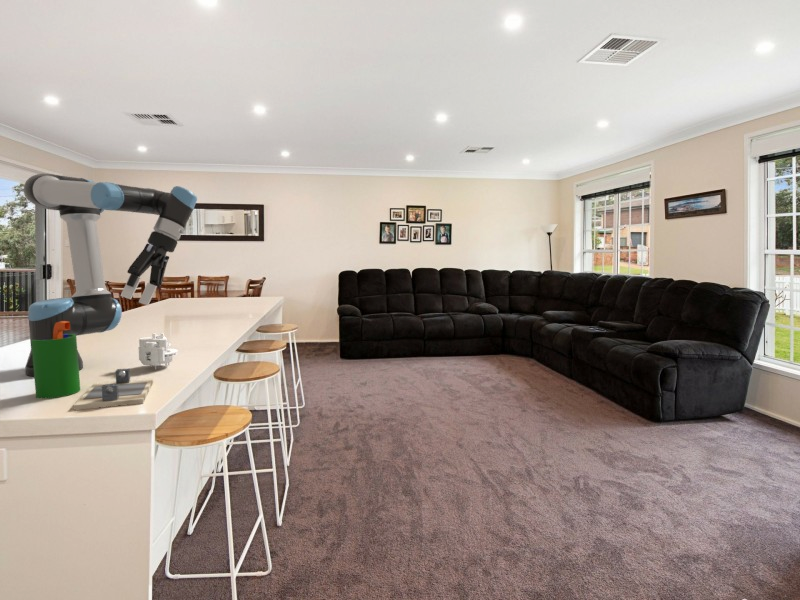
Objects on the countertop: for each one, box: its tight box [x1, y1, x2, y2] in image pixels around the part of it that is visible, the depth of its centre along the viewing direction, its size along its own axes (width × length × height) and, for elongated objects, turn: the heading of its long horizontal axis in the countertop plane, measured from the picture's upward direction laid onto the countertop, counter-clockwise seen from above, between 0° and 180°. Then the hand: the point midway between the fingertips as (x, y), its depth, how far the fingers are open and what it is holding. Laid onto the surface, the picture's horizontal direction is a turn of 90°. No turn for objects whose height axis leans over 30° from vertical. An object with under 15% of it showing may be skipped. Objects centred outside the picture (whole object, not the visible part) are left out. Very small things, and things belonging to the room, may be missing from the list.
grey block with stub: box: [115, 368, 131, 384], centre depth 133 cm, size 3×3×4 cm
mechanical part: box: [138, 332, 179, 370], centre depth 156 cm, size 11×12×12 cm
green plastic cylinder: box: [30, 321, 81, 399], centre depth 126 cm, size 10×9×20 cm
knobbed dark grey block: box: [102, 383, 119, 401], centre depth 118 cm, size 3×3×4 cm
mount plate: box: [73, 378, 154, 411], centre depth 126 cm, size 21×15×1 cm
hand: (134, 301), depth 134 cm, fingers open, 13 cm apart
